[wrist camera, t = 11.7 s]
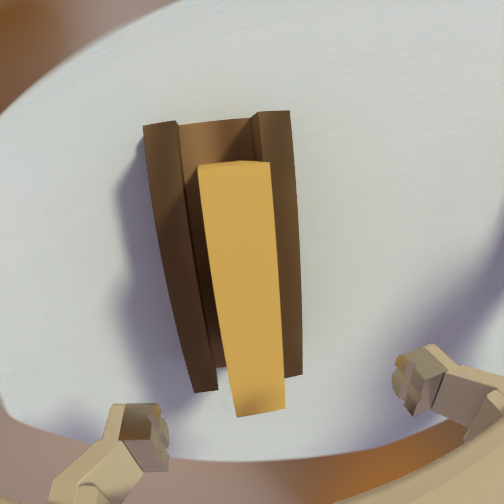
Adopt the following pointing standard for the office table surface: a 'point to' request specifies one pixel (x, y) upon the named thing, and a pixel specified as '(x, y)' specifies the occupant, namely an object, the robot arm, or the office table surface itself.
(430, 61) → the office table surface
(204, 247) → the sliding track
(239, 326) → the door panel
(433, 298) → the office table surface
